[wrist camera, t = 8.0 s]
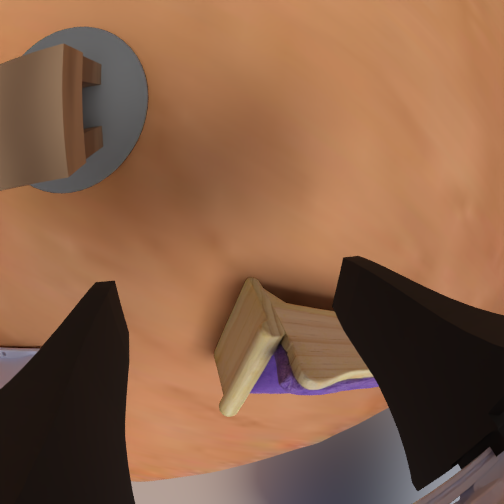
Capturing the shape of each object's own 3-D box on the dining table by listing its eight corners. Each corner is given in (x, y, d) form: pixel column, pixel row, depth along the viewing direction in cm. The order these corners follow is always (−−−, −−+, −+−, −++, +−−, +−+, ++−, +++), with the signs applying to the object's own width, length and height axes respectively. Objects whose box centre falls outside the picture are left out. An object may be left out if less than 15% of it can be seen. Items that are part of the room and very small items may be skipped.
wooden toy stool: (30, 161, 13) (-28, 197, 8) (26, 80, 11) (-38, 81, 5) (104, 148, 14) (68, 177, 9) (103, 62, 12) (63, 43, 6)
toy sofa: (204, 352, 25) (228, 458, 16) (238, 271, 22) (286, 386, 13) (371, 360, 33) (413, 422, 24) (411, 304, 30) (466, 365, 21)
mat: (11, 200, 14) (7, 203, 14) (1, 53, 9) (-4, 52, 9) (151, 180, 17) (150, 183, 16) (151, 17, 12) (150, 14, 11)
